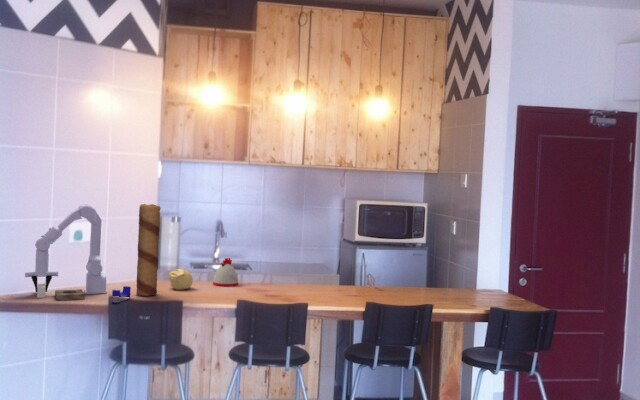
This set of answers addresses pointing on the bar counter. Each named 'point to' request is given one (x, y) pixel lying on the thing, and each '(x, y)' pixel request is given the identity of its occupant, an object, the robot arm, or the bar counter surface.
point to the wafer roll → (148, 249)
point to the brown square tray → (69, 294)
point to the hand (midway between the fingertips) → (41, 291)
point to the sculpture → (180, 279)
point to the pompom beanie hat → (225, 275)
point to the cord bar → (41, 289)
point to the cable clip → (123, 294)
